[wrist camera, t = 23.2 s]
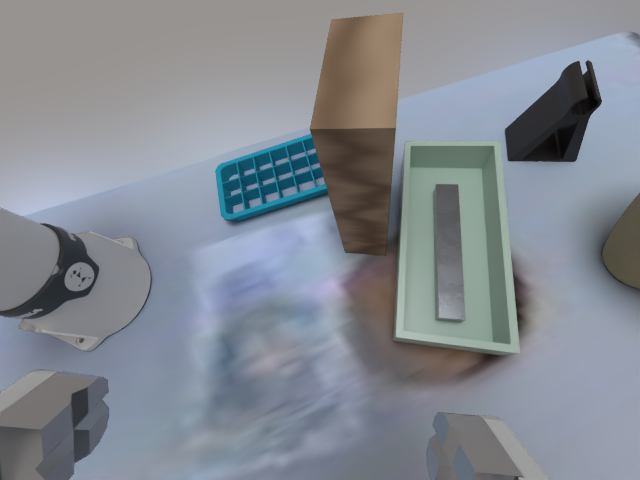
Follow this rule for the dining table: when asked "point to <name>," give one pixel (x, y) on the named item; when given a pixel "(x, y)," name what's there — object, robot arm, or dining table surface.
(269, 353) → the dining table surface
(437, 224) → the gray rectangular bar
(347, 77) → the walnut stand
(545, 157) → the phone stand
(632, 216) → the plant pot
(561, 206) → the dining table surface
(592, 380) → the dining table surface
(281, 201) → the ice cube tray
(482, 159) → the green tray
